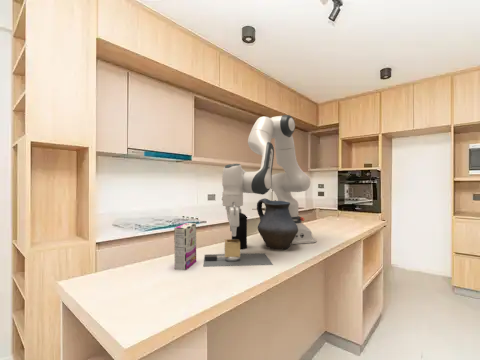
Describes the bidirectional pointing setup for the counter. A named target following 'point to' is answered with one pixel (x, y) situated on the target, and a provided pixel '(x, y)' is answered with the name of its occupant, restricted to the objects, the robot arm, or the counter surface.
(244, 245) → the aerosol can
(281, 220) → the pitcher
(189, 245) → the candy bar box
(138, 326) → the counter surface
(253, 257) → the mat
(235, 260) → the ratchet
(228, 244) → the brass square frame
